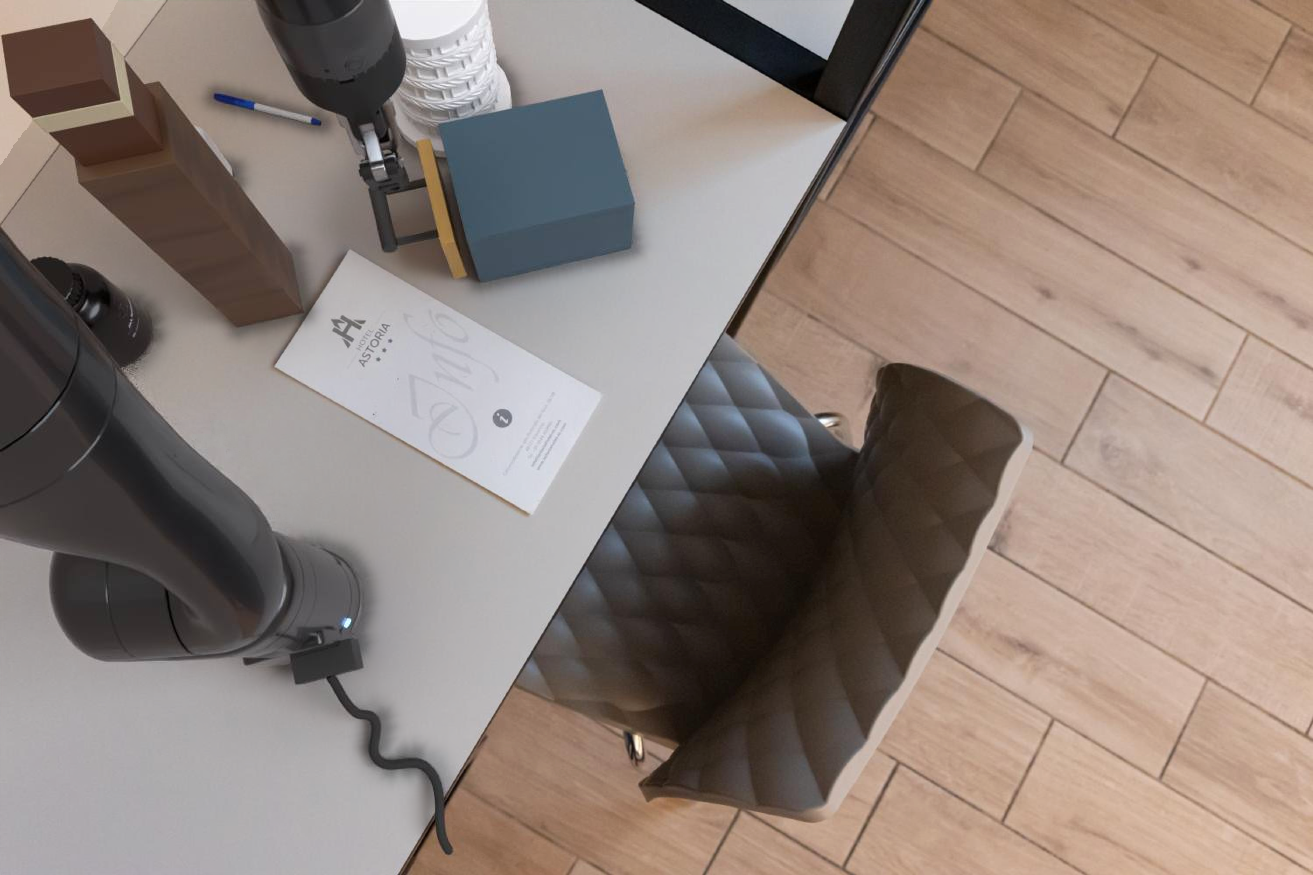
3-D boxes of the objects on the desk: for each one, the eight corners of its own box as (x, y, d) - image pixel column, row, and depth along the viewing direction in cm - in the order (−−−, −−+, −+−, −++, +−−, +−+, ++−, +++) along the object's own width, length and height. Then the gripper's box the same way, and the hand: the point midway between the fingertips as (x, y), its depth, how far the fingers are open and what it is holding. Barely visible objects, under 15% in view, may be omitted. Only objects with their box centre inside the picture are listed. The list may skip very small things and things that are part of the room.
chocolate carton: (164, 151, 63) (103, 79, 55) (83, 168, 62) (8, 98, 54) (154, 95, 64) (92, 16, 56) (73, 111, 63) (-1, 34, 55)
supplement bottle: (171, 333, 89) (106, 284, 77) (111, 386, 87) (36, 344, 76) (120, 283, 90) (48, 227, 78) (60, 335, 88) (-22, 285, 77)
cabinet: (480, 283, 91) (466, 240, 82) (454, 177, 94) (437, 123, 84) (631, 248, 93) (634, 202, 84) (602, 144, 95) (602, 89, 86)
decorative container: (509, 160, 94) (488, 47, 77) (387, 156, 94) (338, 41, 76) (514, 53, 97) (495, -80, 79) (395, 48, 96) (349, -87, 79)
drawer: (398, 291, 90) (379, 258, 82) (376, 195, 92) (355, 153, 84) (596, 246, 92) (595, 209, 84) (570, 153, 94) (567, 108, 86)
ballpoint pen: (213, 103, 94) (209, 97, 93) (216, 95, 94) (212, 89, 93) (320, 127, 94) (317, 122, 93) (323, 119, 94) (320, 114, 94)
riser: (303, 312, 90) (174, 162, 63) (237, 328, 89) (77, 183, 62) (291, 253, 91) (159, 80, 64) (226, 268, 90) (64, 99, 63)
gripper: (250, -64, 62) (325, 90, 78) (292, 136, 59) (360, 251, 76) (368, -86, 62) (418, 71, 79) (416, 110, 60) (456, 230, 76)
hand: (389, 158), depth 77 cm, fingers open, 4 cm apart
